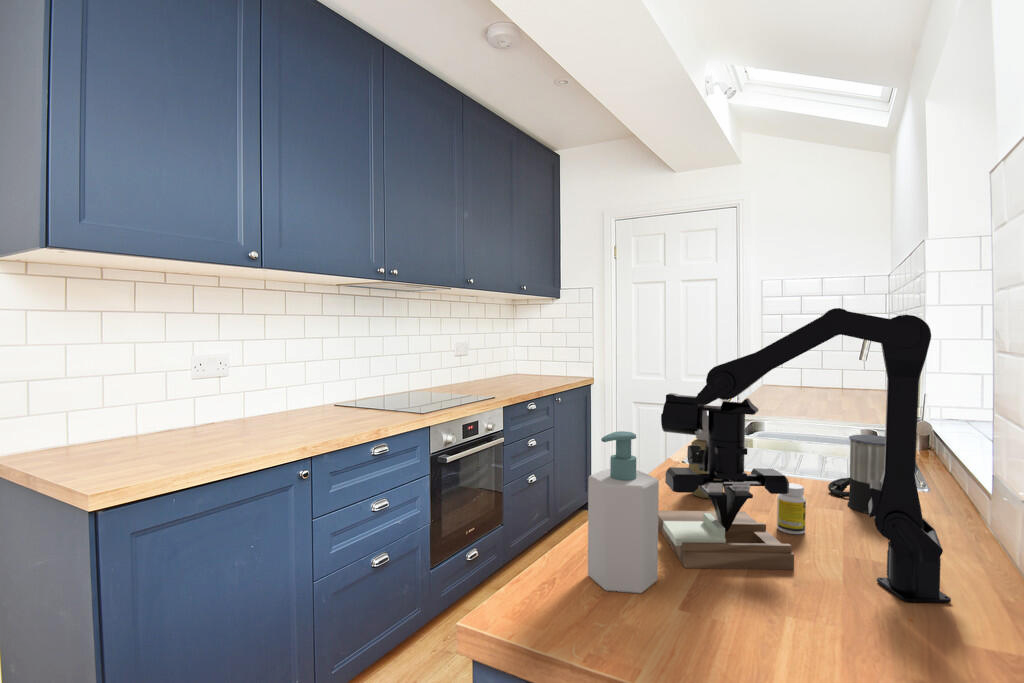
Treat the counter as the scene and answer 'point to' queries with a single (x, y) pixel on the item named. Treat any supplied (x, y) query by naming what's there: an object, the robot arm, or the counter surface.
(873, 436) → the milk frother
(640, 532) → the soap bottle
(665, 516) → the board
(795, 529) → the supplement bottle
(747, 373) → the robot arm
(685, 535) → the cover
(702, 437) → the squeeze bottle
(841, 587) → the counter surface
